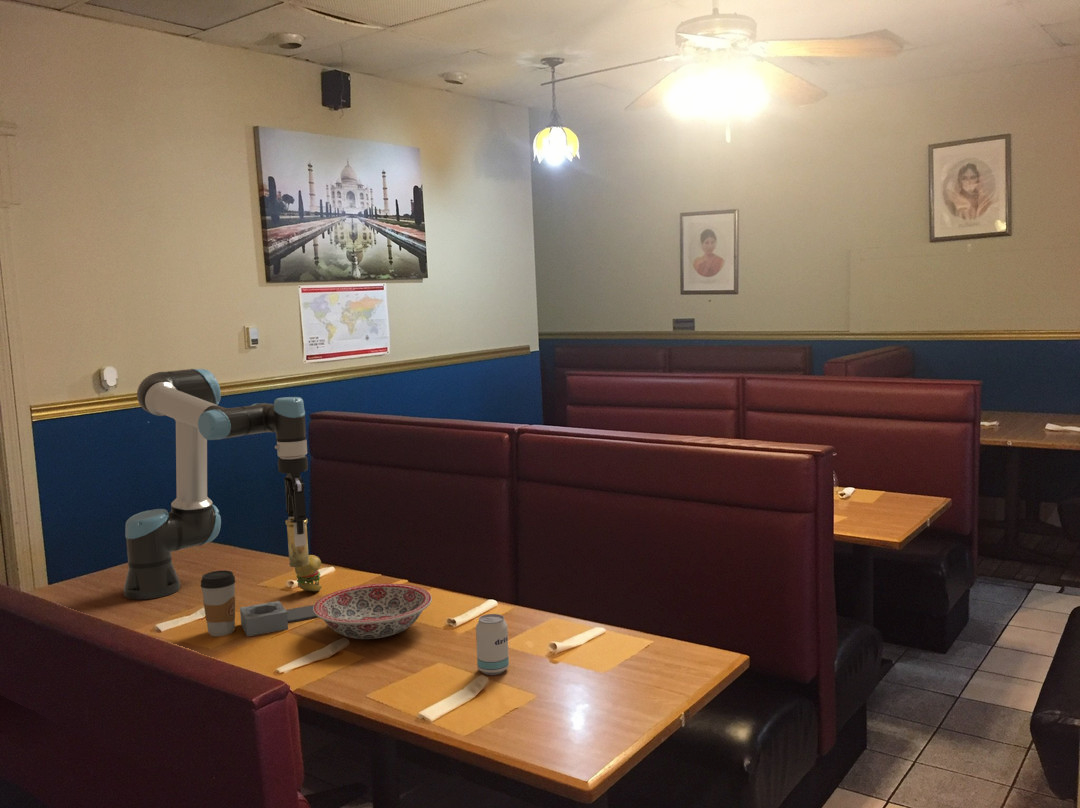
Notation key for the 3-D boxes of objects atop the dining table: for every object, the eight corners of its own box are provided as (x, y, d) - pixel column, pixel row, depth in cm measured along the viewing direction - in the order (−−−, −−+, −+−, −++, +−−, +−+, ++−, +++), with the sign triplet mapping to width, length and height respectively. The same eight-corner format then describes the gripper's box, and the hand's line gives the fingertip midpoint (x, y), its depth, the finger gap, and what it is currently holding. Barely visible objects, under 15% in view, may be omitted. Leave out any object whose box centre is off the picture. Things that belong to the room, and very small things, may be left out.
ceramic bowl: (454, 620, 229) (453, 590, 228) (389, 662, 203) (388, 628, 202) (361, 607, 241) (360, 578, 240) (289, 645, 215) (287, 613, 214)
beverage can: (497, 679, 192) (495, 625, 190) (471, 673, 195) (469, 620, 194) (514, 668, 197) (513, 615, 196) (489, 662, 201) (487, 611, 200)
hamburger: (328, 590, 256) (326, 550, 255) (309, 598, 250) (307, 556, 249) (309, 586, 260) (307, 547, 259) (290, 594, 254) (288, 553, 253)
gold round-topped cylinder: (286, 563, 236) (283, 519, 235) (307, 560, 239) (304, 516, 237) (290, 568, 231) (287, 523, 230) (312, 565, 234) (309, 520, 232)
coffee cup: (227, 638, 220) (223, 580, 219) (197, 637, 222) (193, 579, 220) (245, 626, 229) (241, 570, 227) (215, 625, 230) (211, 569, 229)
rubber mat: (281, 612, 238) (281, 610, 238) (315, 606, 243) (315, 604, 242) (288, 622, 231) (288, 620, 230) (323, 616, 235) (322, 614, 234)
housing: (241, 624, 230) (239, 607, 230) (280, 617, 235) (279, 600, 234) (247, 636, 222) (246, 619, 221) (288, 628, 226) (286, 611, 226)
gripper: (271, 453, 238) (276, 537, 241) (284, 463, 222) (290, 553, 224) (299, 450, 242) (304, 533, 244) (315, 459, 225) (320, 549, 228)
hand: (297, 542), depth 234 cm, fingers closed on gold round-topped cylinder, 6 cm apart
